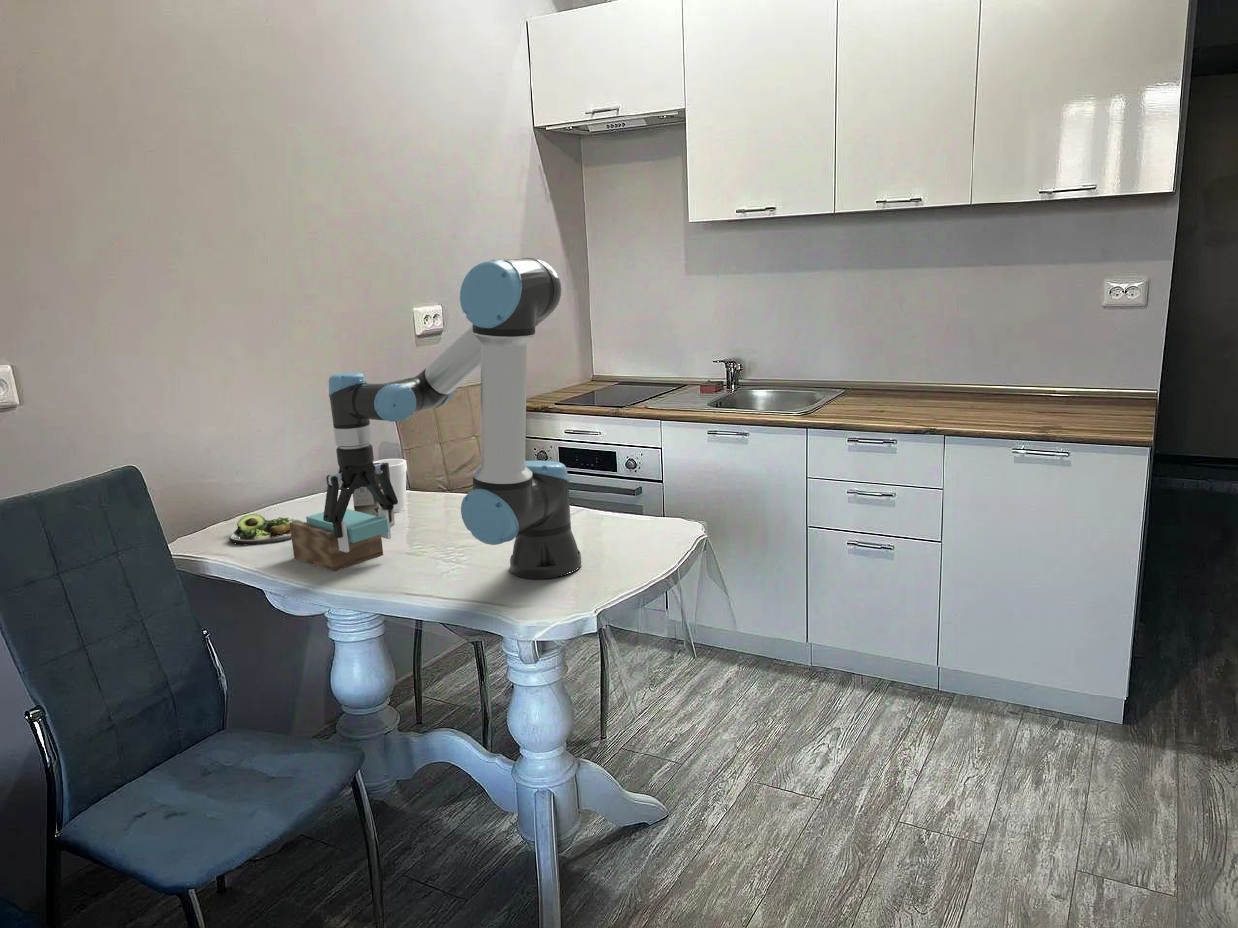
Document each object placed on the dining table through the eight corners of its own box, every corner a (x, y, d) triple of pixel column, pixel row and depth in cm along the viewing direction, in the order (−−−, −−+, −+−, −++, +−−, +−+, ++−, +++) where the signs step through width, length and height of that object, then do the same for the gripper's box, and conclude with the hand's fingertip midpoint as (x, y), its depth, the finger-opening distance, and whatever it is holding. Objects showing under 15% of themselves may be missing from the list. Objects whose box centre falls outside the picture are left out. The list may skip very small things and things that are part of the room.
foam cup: (399, 503, 256) (394, 457, 253) (417, 508, 249) (412, 461, 246) (368, 511, 250) (363, 464, 247) (386, 517, 243) (381, 468, 240)
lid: (388, 531, 205) (387, 518, 205) (353, 542, 199) (351, 529, 198) (342, 519, 217) (340, 507, 216) (307, 529, 210) (306, 516, 210)
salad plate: (320, 521, 244) (318, 504, 242) (307, 541, 226) (305, 523, 225) (243, 527, 241) (241, 510, 240) (225, 549, 224) (222, 530, 223)
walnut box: (383, 554, 212) (379, 519, 210) (333, 571, 203) (328, 534, 201) (343, 543, 223) (339, 508, 221) (294, 558, 213) (289, 522, 211)
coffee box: (380, 534, 228) (373, 470, 224) (356, 534, 229) (348, 470, 226) (396, 523, 237) (389, 461, 233) (372, 523, 238) (365, 461, 234)
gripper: (387, 434, 210) (397, 528, 215) (296, 453, 193) (310, 555, 198) (408, 437, 205) (417, 533, 210) (316, 457, 188) (329, 561, 193)
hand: (365, 544), depth 204 cm, fingers open, 10 cm apart
